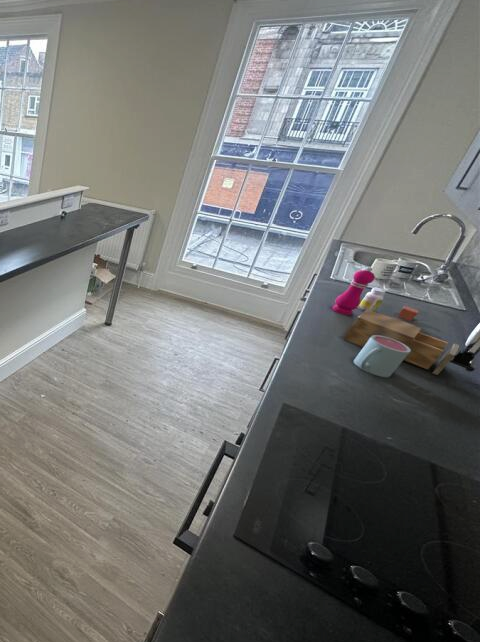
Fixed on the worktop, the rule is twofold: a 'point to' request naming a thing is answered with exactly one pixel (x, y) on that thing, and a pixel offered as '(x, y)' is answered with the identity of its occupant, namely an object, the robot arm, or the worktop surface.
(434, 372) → the drawer
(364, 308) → the supplement bottle
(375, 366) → the mug
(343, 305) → the pepper mill
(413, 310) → the block
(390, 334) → the cabinet
